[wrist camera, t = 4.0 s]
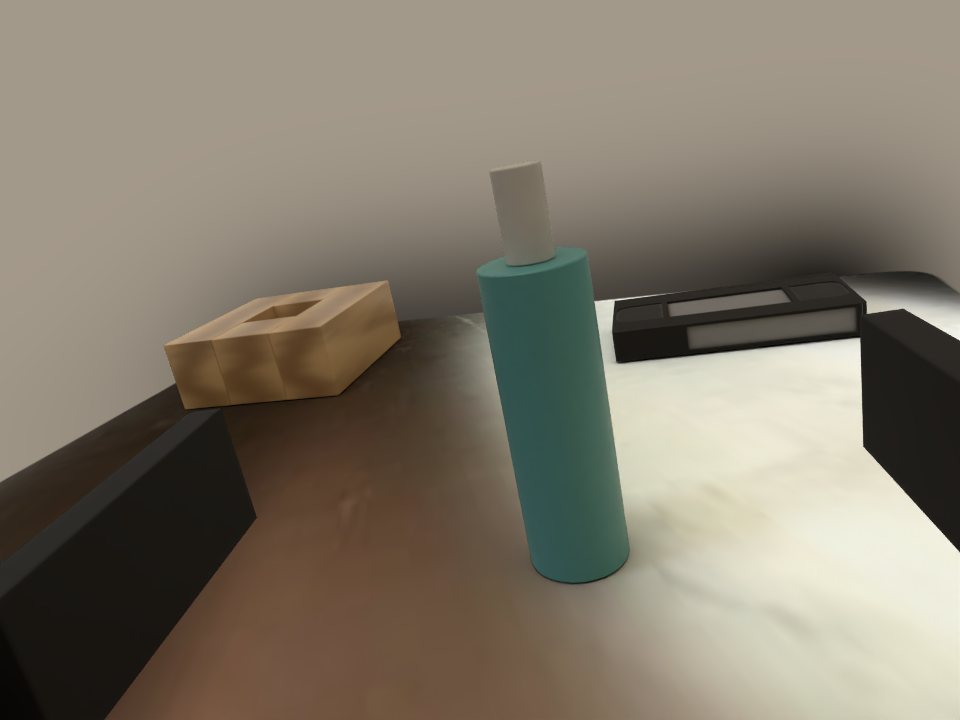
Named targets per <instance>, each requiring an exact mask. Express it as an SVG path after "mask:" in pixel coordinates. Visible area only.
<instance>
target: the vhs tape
mask: <svg viewBox="0 0 960 720" xmlns="http://www.w3.org/2000/svg"><path fill="white" fill-rule="evenodd" d="M864 314H867V305H866V301H865V300H864V299H863V298H862V297H861V296H859V295H858V294H857V293H856V292H855V291H854V290H852V289H851V288H850V287H849V286H848V285H847V284H846V283H844V282H843V281H842V280H841V279H840V278H839V277H838V276H836V275H835V274H834V273H825V274H818V275H810V276H803V277H795V278H788V279H780V280H772V281H765V282H757V283H749V284H741V285H734V286H726V287H719V288H712V289H703V290H696V291H688V292H680V293H673V294H665V295H658V296H650V297H642V298H635V299H627V300H619V301H615V304H614V314H613V326H612V334H613V341H614V348H615V356H616V361H617V362H620V361H629V360H638V359H648V358H657V357H666V356H675V355H684V354H693V353H702V352H711V351H720V350H729V349H739V348H748V347H757V346H766V345H775V344H784V343H793V342H802V341H811V340H820V339H830V338H839V337H848V336H857V335H860V315H864Z"/></svg>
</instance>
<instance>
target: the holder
mask: <svg viewBox="0 0 960 720" xmlns="http://www.w3.org/2000/svg"><path fill="white" fill-rule="evenodd" d="M400 338H401V335H400V331H399V326H398V322H397V318H396V314H395V309H394V305H393V301H392V296H391V292H390V288H389V284H388V281H382V282H374V283H367V284H359V285H353V286H345V287H337V288H330V289H323V290H316V291H309V292H302V293H295V294H287V295H281V296H273V297H266V298H259V299H255V300H253V301H251V302H249V303H247V304H245V305H243V306H241V307H239V308H237V309H235V310H233V311H231V312H229V313H227V314H225V315H223V316H221V317H219V318H218V319H215V320H213V321H211V322H209V323H208V324H205V325H203V326H201V327H200V328H198V329H196V330H194V331H192V332H190V333H188V334H186V335H184V336H182V337H180V338H178V339H176V340H174V341H172V342H170V343H168V344H166V345H164V348H165V352H166V354H167V357H168V360H169V363H170V366H171V369H172V372H173V375H174V378H175V381H176V384H177V387H178V389H179V392H180V395H181V398H182V401H183V404H184V407H185V409H195V408H206V407H217V406H228V405H237V404H248V403H259V402H270V401H281V400H292V399H303V398H314V397H325V396H336V395H339V394H340V393H341V392H343V391H344V390H345V389H346V388H347V387H348V386H349V385H350V384H351V383H352V382H353V381H354V380H356V379H357V378H358V377H359V376H360V375H361V374H362V373H363V372H364V371H365V370H366V369H367V368H369V367H370V366H371V365H372V364H373V363H374V362H375V361H376V360H377V359H378V358H379V357H380V356H382V355H383V354H384V353H385V352H386V351H387V350H388V349H389V348H390V347H391V346H392V345H393V344H394V343H396V342H397V341H398V340H399V339H400Z"/></svg>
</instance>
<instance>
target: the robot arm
mask: <svg viewBox="0 0 960 720" xmlns="http://www.w3.org/2000/svg"><path fill="white" fill-rule="evenodd" d="M860 342H861V378H862V414H863V447H864V448H865V449H866V450H867V451H868V452H869V453H870V454H871V455H872V456H873V458H874V459H875V460H876V461H877V462H878V463H879V464H880V465H881V466H882V467H883V468H884V470H885V471H886V472H887V473H888V474H889V475H890V476H891V477H892V478H893V479H894V481H895V482H896V483H897V484H898V485H899V486H900V487H901V488H902V489H903V490H904V491H905V493H906V494H907V495H908V496H909V497H910V498H911V499H912V500H913V501H914V502H915V504H916V505H917V506H918V507H919V508H920V509H921V510H922V511H923V512H924V513H925V514H926V516H927V517H928V518H929V519H930V520H931V521H932V522H933V523H934V524H935V525H936V526H937V528H938V529H939V530H940V531H941V532H942V533H943V534H944V535H945V536H946V537H947V539H948V540H949V541H950V542H951V543H952V544H953V545H954V546H955V547H956V548H957V549H958V551H959V552H960V341H959V340H958V339H956V338H954V337H952V336H951V335H949V334H947V333H945V332H943V331H942V330H940V329H938V328H936V327H935V326H933V325H931V324H929V323H928V322H926V321H924V320H922V319H920V318H919V317H917V316H915V315H913V314H912V313H910V312H908V311H906V310H905V309H899V310H892V311H885V312H878V313H871V314H864V315H860ZM256 518H257V517H256V514H255V511H254V508H253V504H252V501H251V498H250V495H249V492H248V489H247V486H246V483H245V480H244V477H243V474H242V471H241V468H240V465H239V462H238V459H237V455H236V452H235V449H234V446H233V443H232V440H231V437H230V434H229V431H228V428H227V425H226V422H225V419H224V416H223V413H222V410H221V408H219V409H212V410H205V411H198V412H191V413H188V414H187V415H186V416H184V417H183V418H182V419H181V420H179V421H178V422H177V423H176V424H174V425H173V426H172V427H171V428H169V429H168V430H167V431H166V432H165V433H163V434H162V435H161V436H160V437H158V438H157V439H156V440H155V441H153V442H152V443H151V444H150V445H148V446H147V447H146V448H145V449H143V450H142V451H141V452H140V453H138V454H137V455H136V456H135V457H133V458H132V459H131V460H130V461H128V462H127V463H126V464H125V465H123V466H122V467H121V468H120V469H118V470H117V471H116V472H115V473H113V474H112V475H111V476H110V477H108V478H107V479H106V480H105V481H103V482H102V483H101V484H100V485H98V486H97V487H96V488H95V489H93V490H92V491H91V492H90V493H88V494H87V495H86V496H85V497H83V498H82V499H81V500H80V501H78V502H77V503H76V504H75V505H73V506H72V507H71V508H70V509H68V510H67V511H66V512H65V513H63V514H62V515H61V516H60V517H58V518H57V519H56V520H55V521H53V522H52V523H51V524H50V525H48V526H47V527H46V528H45V529H43V530H42V531H41V532H40V533H38V534H37V535H36V536H35V537H33V538H32V539H31V540H30V541H28V542H27V543H26V544H25V545H23V546H22V547H21V548H20V549H18V550H17V551H16V552H15V553H13V554H12V555H11V556H10V557H8V558H7V559H6V560H5V561H3V562H2V563H1V564H0V720H104V719H105V718H106V717H107V715H108V714H109V713H110V711H111V710H112V709H113V707H114V706H115V705H116V703H117V702H118V701H119V700H120V698H121V697H122V696H123V694H124V693H125V692H126V690H127V689H128V688H129V686H130V685H131V684H132V682H133V681H134V680H135V678H136V677H137V676H138V674H139V673H140V672H141V670H142V669H143V668H144V666H145V665H146V664H147V662H148V661H149V660H150V658H151V657H152V656H153V654H154V653H155V652H156V651H157V649H158V648H159V647H160V645H161V644H162V643H163V641H164V640H165V639H166V637H167V636H168V635H169V633H170V632H171V631H172V629H173V628H174V627H175V625H176V624H177V623H178V621H179V620H180V619H181V617H182V616H183V615H184V613H185V612H186V611H187V609H188V608H189V607H190V605H191V604H192V603H193V601H194V600H195V599H196V598H197V596H198V595H199V594H200V592H201V591H202V590H203V588H204V587H205V586H206V584H207V583H208V582H209V580H210V579H211V578H212V576H213V575H214V574H215V572H216V571H217V570H218V568H219V567H220V566H221V564H222V563H223V562H224V560H225V559H226V558H227V556H228V555H229V554H230V552H231V551H232V550H233V549H234V547H235V546H236V545H237V543H238V542H239V541H240V539H241V538H242V537H243V535H244V534H245V533H246V531H247V530H248V529H249V527H250V526H251V525H252V523H253V522H254V521H255V519H256Z"/></svg>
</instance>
